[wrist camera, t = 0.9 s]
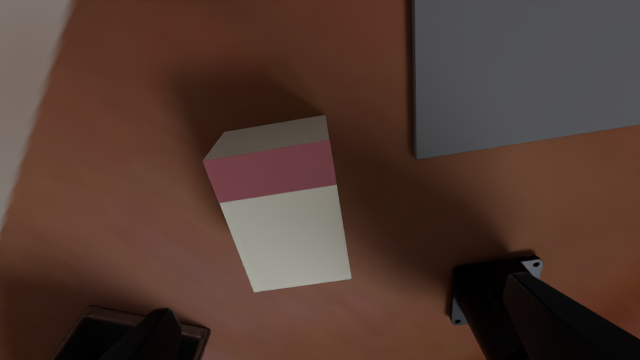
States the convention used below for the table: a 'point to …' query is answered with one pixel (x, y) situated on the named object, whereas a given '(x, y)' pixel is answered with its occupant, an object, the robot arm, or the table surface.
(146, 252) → the table surface
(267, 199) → the card box
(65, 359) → the letter holder
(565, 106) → the mat
